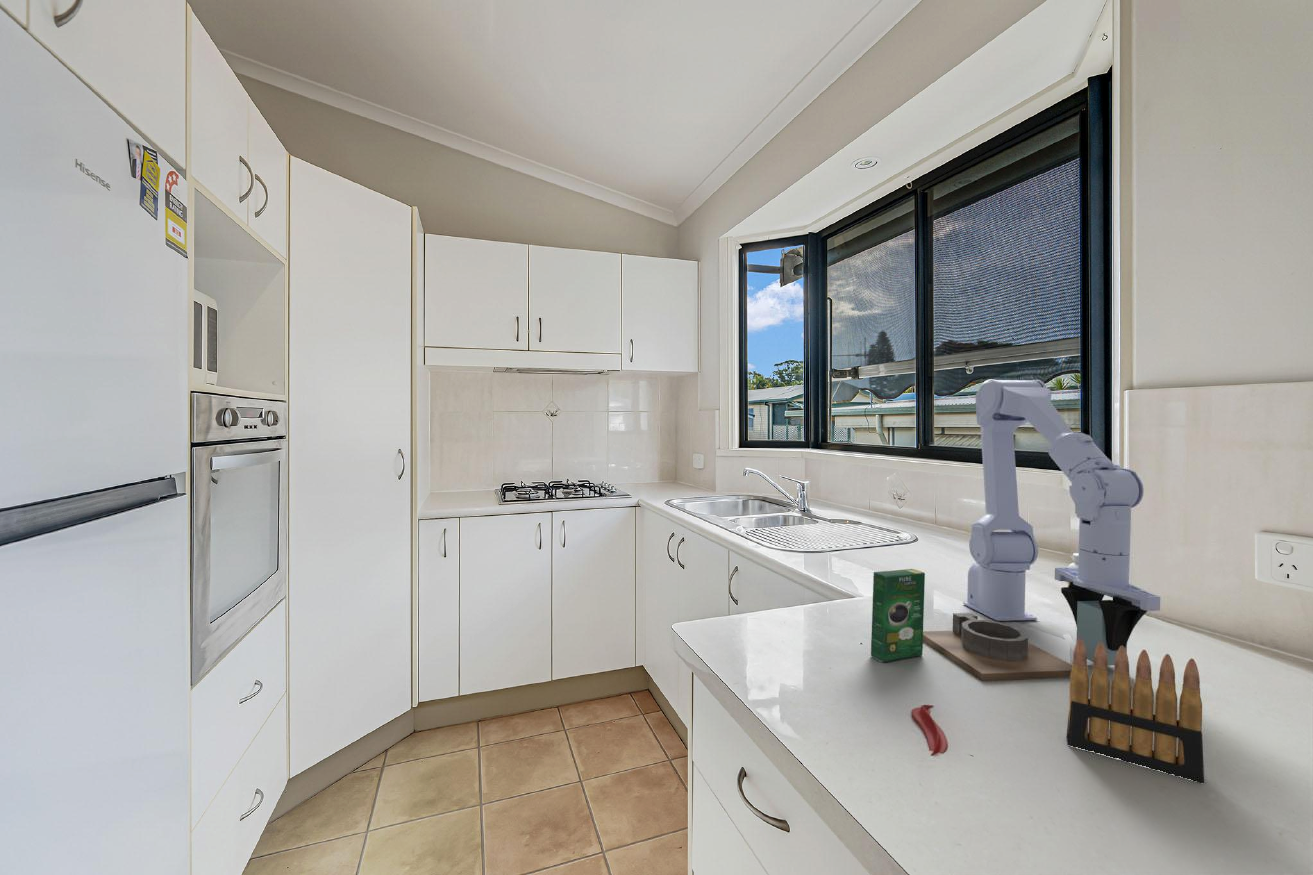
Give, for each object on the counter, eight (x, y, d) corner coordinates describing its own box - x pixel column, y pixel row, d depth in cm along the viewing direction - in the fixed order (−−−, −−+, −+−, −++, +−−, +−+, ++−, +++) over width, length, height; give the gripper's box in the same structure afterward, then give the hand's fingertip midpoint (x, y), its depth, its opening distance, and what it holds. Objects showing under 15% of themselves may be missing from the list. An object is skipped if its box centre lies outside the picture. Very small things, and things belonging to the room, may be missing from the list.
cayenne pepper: (916, 703, 68) (917, 688, 68) (957, 715, 65) (958, 700, 65) (895, 748, 58) (896, 731, 58) (942, 765, 55) (943, 747, 55)
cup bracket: (918, 637, 88) (918, 613, 88) (1002, 634, 89) (1002, 611, 89) (982, 680, 73) (983, 652, 73) (1081, 676, 74) (1082, 648, 74)
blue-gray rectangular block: (1076, 653, 79) (1077, 601, 79) (1100, 652, 79) (1101, 600, 79) (1101, 665, 75) (1102, 610, 75) (1126, 664, 75) (1128, 609, 75)
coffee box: (910, 648, 83) (911, 566, 83) (925, 656, 81) (926, 571, 80) (869, 655, 81) (870, 571, 80) (883, 664, 78) (885, 576, 78)
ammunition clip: (1067, 746, 58) (1070, 638, 58) (1066, 738, 60) (1068, 633, 59) (1204, 784, 52) (1208, 664, 52) (1199, 774, 53) (1202, 657, 53)
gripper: (1037, 540, 84) (1035, 624, 84) (1127, 564, 69) (1124, 666, 70) (1078, 539, 84) (1076, 623, 85) (1175, 563, 70) (1172, 664, 70)
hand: (1101, 642), depth 77 cm, fingers closed on blue-gray rectangular block, 4 cm apart
